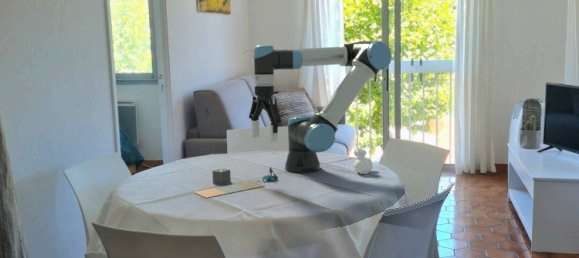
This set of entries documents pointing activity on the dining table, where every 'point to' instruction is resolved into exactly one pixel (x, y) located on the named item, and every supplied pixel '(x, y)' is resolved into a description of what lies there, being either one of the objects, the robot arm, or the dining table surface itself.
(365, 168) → the duck figurine
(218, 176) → the die
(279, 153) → the dining table surface
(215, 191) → the game board
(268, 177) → the dragon figurine
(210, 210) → the dining table surface
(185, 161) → the dining table surface
